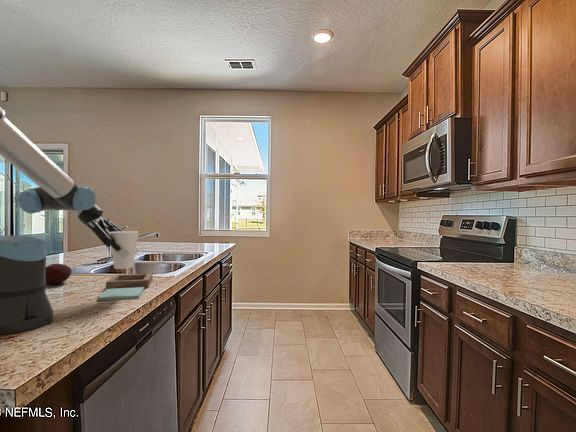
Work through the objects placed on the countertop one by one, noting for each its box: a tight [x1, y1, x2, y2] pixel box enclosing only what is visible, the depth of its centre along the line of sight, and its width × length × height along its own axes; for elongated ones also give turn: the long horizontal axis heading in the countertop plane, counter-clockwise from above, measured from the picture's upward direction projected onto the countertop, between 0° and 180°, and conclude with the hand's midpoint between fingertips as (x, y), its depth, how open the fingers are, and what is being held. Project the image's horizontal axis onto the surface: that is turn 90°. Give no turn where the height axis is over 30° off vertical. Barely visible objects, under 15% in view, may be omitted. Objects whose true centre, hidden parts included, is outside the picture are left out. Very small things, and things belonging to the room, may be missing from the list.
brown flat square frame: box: [105, 272, 154, 290], centre depth 134 cm, size 15×15×3 cm
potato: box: [45, 263, 72, 285], centre depth 135 cm, size 12×11×8 cm
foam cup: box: [110, 230, 139, 270], centre depth 119 cm, size 10×9×13 cm
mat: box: [96, 287, 145, 302], centre depth 118 cm, size 13×13×1 cm
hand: (132, 254), depth 119 cm, fingers closed on foam cup, 9 cm apart
